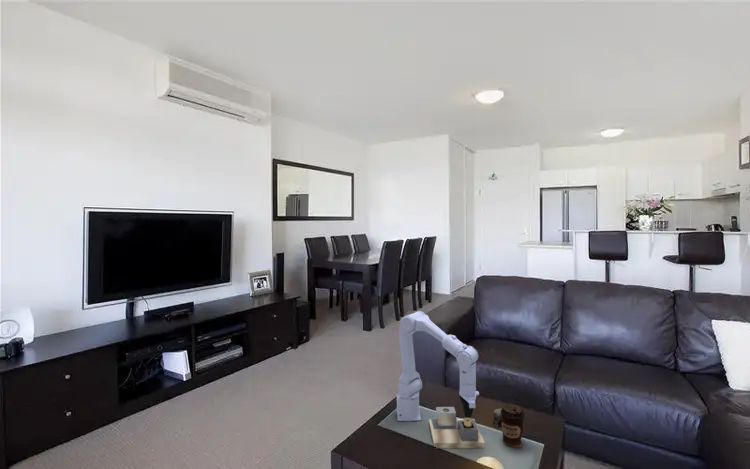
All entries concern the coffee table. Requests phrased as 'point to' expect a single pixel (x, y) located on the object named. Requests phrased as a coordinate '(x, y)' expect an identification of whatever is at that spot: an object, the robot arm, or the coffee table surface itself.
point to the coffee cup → (512, 424)
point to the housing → (446, 416)
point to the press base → (456, 435)
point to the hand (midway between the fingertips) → (467, 416)
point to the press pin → (467, 423)
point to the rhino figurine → (497, 416)
